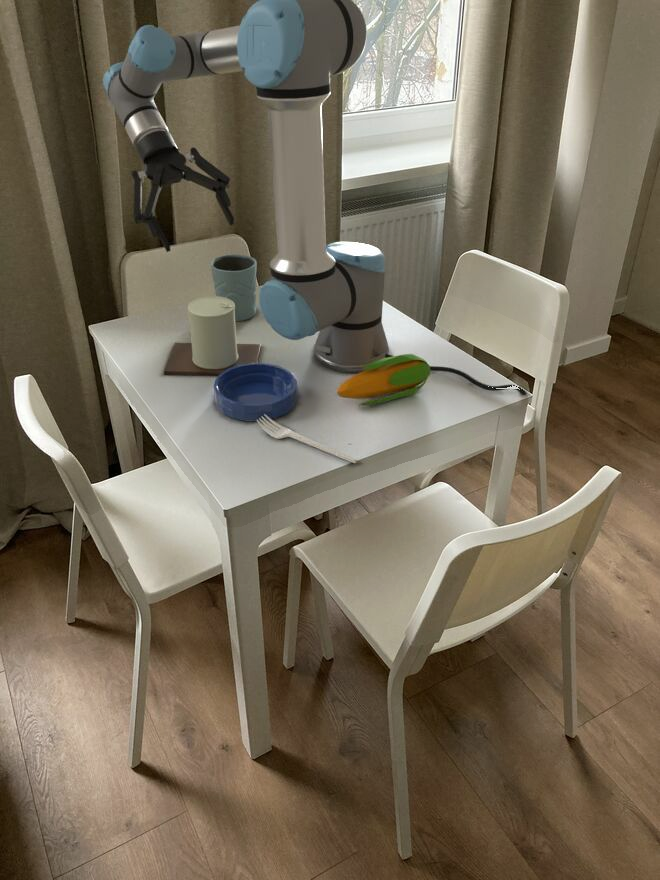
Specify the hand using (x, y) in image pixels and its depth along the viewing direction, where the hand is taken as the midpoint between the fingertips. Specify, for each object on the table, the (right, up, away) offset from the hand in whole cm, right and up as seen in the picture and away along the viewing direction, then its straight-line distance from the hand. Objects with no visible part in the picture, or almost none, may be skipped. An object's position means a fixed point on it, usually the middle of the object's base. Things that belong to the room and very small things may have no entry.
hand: (200, 235), depth 145 cm
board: (+2, -24, +7) cm, 25 cm away
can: (+2, -23, +6) cm, 24 cm away
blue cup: (+4, -11, +25) cm, 27 cm away
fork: (+21, -41, -17) cm, 49 cm away
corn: (+35, -32, -4) cm, 48 cm away
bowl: (+11, -32, -5) cm, 35 cm away
